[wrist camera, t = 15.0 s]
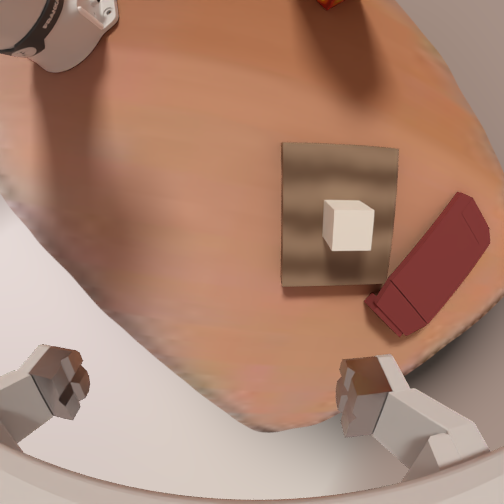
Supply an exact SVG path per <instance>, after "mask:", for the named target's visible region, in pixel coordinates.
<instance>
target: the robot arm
mask: <svg viewBox="0 0 504 504" xmlns="http://www.w3.org/2000/svg"><path fill="white" fill-rule="evenodd" d="M109 12H111V13H110V14H109V15H108V13H109ZM118 18H119V15H118V7H117V0H0V53H1V54H6V55H10V56H14V57H23V58H28V59H30V60H32V61H34V62H36V63H37V64H38V65H40V66H41V67H42V68H43V69H44V70H46V71H49V72H63V71H66V70H68V69H71V68H73V67H74V66H76V65H77V64H79V63H80V62H81V61H83V60H84V59H85V58H86V57H87V56H88V55H89V54H90V53H91V51H92V50H93V49H94V48H95V46H96V45H97V43H98V41H99V40H100V38H101V37H102V35H103V34H104V33H105V32H106V31H107V30H109V29H110V28H111V27H112V26H113V25H114V24H115V23H116V22H117V21H118ZM82 361H83V360H82V358H81V355H80V353H79V352H78V351H76V350H71V349H65V348H60V347H55V346H49V345H44V344H42V345H39V346H38V347H37V348H36V349H35V350H34V352H33V353H32V354H31V355H30V356H29V357H28V359H27V360H26V361H25V362H24V363H23V365H22V366H21V367H20V368H19V369H18V370H17V371H15V370H14V371H11V372H9V373H7V374H5V375H3V376H1V377H0V504H504V446H503V447H501V448H498V449H496V450H494V451H492V452H490V450H489V448H488V446H487V444H486V443H485V441H484V439H483V437H482V435H481V434H480V432H479V430H478V428H477V427H476V425H475V423H474V422H473V421H471V420H469V419H467V418H466V417H464V416H462V415H460V414H459V413H457V412H455V411H453V410H451V409H450V408H448V407H446V406H445V405H443V404H441V403H439V402H438V401H436V400H434V399H432V398H431V397H429V396H427V395H425V394H424V393H422V392H420V391H419V390H417V389H415V388H413V389H410V387H409V385H408V384H407V382H406V380H405V378H404V376H403V374H402V372H401V370H400V368H399V367H398V365H397V363H396V361H395V359H394V357H393V356H392V355H391V354H386V355H378V356H374V357H363V358H353V359H342V362H341V365H340V369H339V370H340V373H341V378H340V379H339V380H338V381H337V386H336V403H337V408H338V410H339V411H340V412H341V413H343V414H342V418H341V424H342V428H343V432H344V435H345V437H355V436H363V435H371V434H373V435H372V436H373V437H374V438H375V439H377V440H378V441H379V442H380V443H381V444H382V445H383V446H384V447H385V448H386V449H387V450H389V451H390V452H391V453H392V454H393V455H394V456H395V457H396V458H397V459H399V460H400V461H401V462H402V463H403V464H404V465H405V466H406V467H408V468H409V469H410V470H409V471H408V473H407V474H406V476H405V477H404V478H403V480H402V481H401V483H397V484H392V485H388V486H383V487H379V488H374V489H368V490H364V491H357V492H351V493H345V494H337V495H330V496H321V497H312V498H298V499H281V500H280V499H279V500H235V499H234V500H233V499H214V498H202V497H192V496H183V495H175V494H168V493H162V492H155V491H149V490H144V489H139V488H134V487H129V486H125V485H120V484H116V483H112V482H108V481H104V480H100V479H96V478H92V477H89V476H86V475H82V474H79V473H76V472H73V471H70V470H67V469H64V468H61V467H58V466H55V465H53V464H50V463H47V462H44V461H42V460H40V459H37V458H34V457H32V456H30V455H27V454H25V453H23V451H22V450H21V448H20V447H19V446H18V445H17V443H18V442H19V441H21V440H22V439H23V438H25V437H26V436H28V435H29V434H30V433H32V432H33V431H34V430H36V429H37V428H39V427H40V426H41V425H43V424H44V423H45V422H46V421H48V420H49V419H51V418H52V417H53V416H57V417H61V418H65V419H69V420H73V419H74V417H75V416H76V414H77V412H78V410H79V408H80V403H79V401H80V400H82V399H84V398H85V397H86V396H87V393H88V392H89V386H90V381H89V375H88V373H87V371H86V370H85V369H84V368H83V367H82V366H81V364H82ZM52 415H53V416H52Z"/></svg>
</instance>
